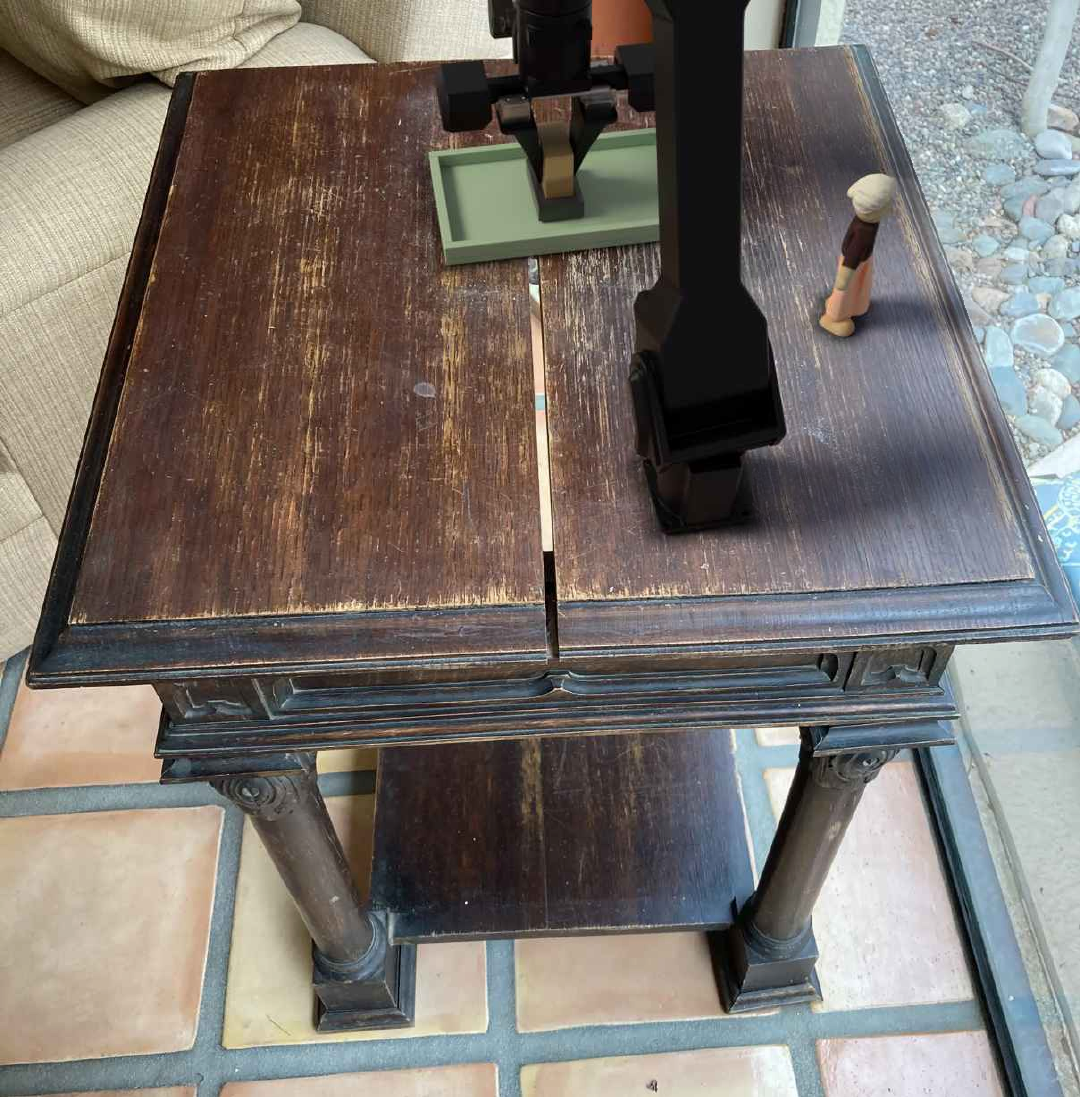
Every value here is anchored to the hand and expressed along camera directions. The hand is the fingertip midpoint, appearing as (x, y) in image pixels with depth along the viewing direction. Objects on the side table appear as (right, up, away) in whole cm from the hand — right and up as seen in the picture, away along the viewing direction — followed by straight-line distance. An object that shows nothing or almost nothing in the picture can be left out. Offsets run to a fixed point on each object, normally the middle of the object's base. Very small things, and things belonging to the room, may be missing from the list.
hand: (555, 178), depth 91 cm
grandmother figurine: (+23, -13, -6) cm, 27 cm away
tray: (0, -1, +2) cm, 3 cm away
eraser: (0, -1, +1) cm, 2 cm away
